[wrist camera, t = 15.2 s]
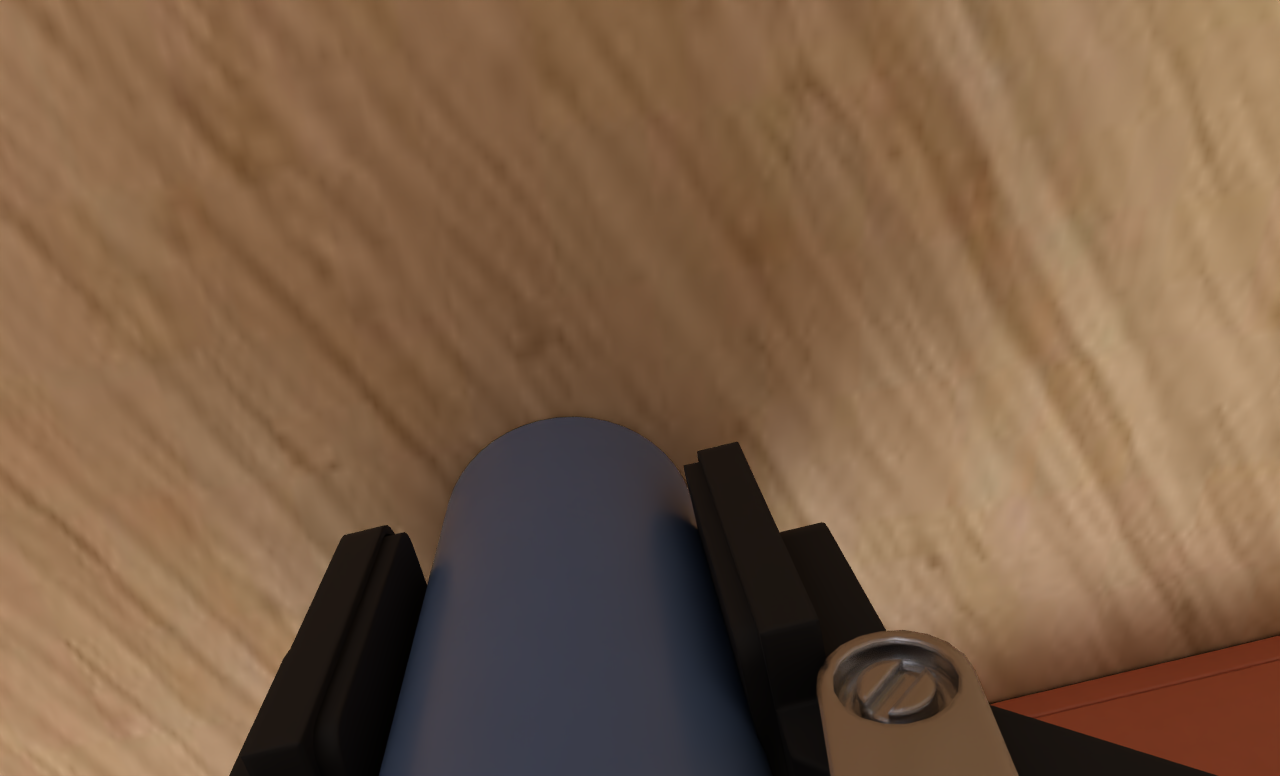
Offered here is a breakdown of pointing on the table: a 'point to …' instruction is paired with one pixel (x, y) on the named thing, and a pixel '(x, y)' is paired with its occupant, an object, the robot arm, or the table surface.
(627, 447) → the slate peg
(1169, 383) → the table surface
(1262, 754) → the terracotta bin
